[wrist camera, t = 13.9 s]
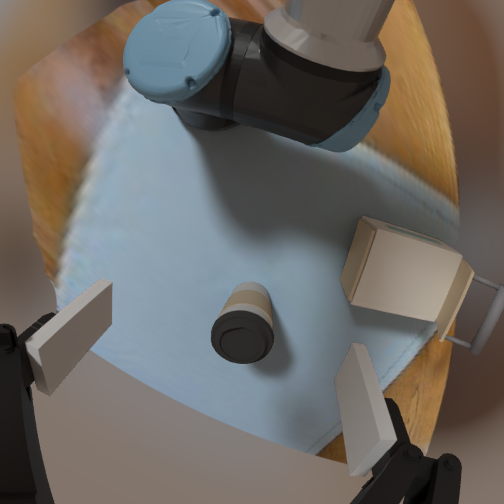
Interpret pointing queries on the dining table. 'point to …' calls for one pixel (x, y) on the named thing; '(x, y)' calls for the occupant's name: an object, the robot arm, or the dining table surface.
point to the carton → (398, 270)
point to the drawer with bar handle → (455, 299)
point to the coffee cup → (244, 325)
